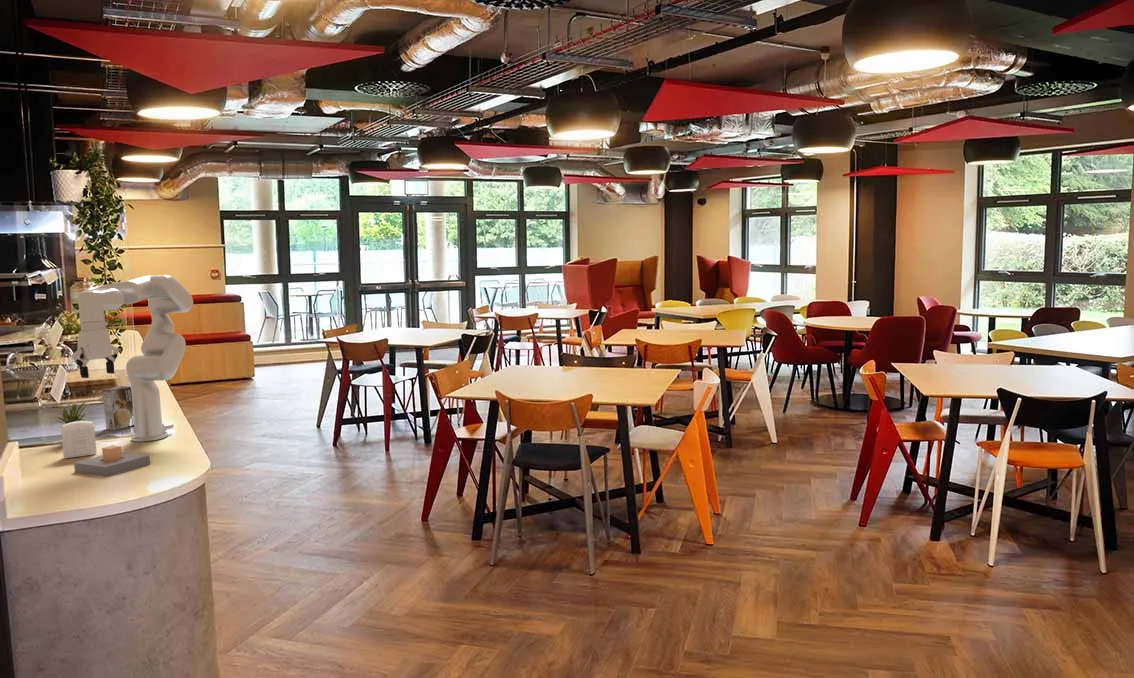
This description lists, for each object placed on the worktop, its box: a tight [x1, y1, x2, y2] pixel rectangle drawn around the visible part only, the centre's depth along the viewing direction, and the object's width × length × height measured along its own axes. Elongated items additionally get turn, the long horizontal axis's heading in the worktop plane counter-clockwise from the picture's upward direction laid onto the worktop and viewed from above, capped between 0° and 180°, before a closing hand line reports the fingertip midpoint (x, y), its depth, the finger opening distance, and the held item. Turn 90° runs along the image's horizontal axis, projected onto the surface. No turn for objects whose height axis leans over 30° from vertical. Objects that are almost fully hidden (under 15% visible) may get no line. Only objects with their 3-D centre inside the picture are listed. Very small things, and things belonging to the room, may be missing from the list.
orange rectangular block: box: [101, 444, 122, 462], centre depth 294 cm, size 4×4×7 cm
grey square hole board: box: [73, 451, 151, 477], centre depth 294 cm, size 16×16×3 cm
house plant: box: [51, 400, 90, 430], centre depth 334 cm, size 14×14×16 cm
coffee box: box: [101, 385, 134, 431], centre depth 359 cm, size 9×6×16 cm
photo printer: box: [60, 420, 98, 459], centre depth 312 cm, size 10×4×12 cm, turn 123°
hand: (97, 375), depth 309 cm, fingers open, 9 cm apart
